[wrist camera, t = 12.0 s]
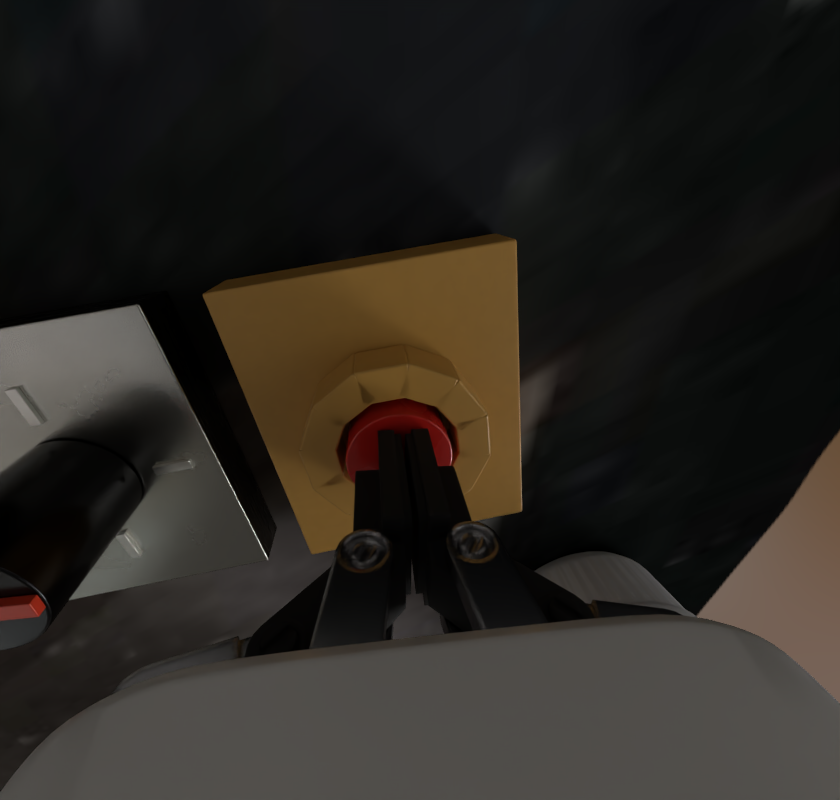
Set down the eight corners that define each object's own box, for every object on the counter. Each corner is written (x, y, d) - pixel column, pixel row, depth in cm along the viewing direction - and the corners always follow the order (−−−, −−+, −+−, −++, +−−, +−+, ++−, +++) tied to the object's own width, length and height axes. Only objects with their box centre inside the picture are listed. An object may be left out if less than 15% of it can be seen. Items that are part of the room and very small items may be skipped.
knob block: (224, 280, 14) (174, 309, 10) (496, 232, 14) (540, 244, 10) (316, 519, 19) (305, 590, 16) (507, 481, 20) (538, 542, 16)
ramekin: (463, 583, 23) (487, 679, 19) (638, 507, 22) (710, 590, 17) (520, 663, 28) (550, 754, 24) (664, 606, 27) (725, 690, 23)
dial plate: (-125, 340, 13) (-207, 364, 11) (167, 290, 14) (135, 305, 12) (76, 567, 19) (44, 608, 17) (277, 527, 19) (267, 563, 17)
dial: (48, 526, 15) (-92, 672, 10) (-3, 442, 13) (-202, 575, 9) (156, 517, 16) (67, 654, 11) (121, 436, 14) (-4, 558, 9)
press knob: (336, 400, 13) (333, 427, 12) (437, 381, 14) (446, 405, 12) (359, 478, 15) (358, 510, 14) (448, 461, 15) (457, 490, 14)
